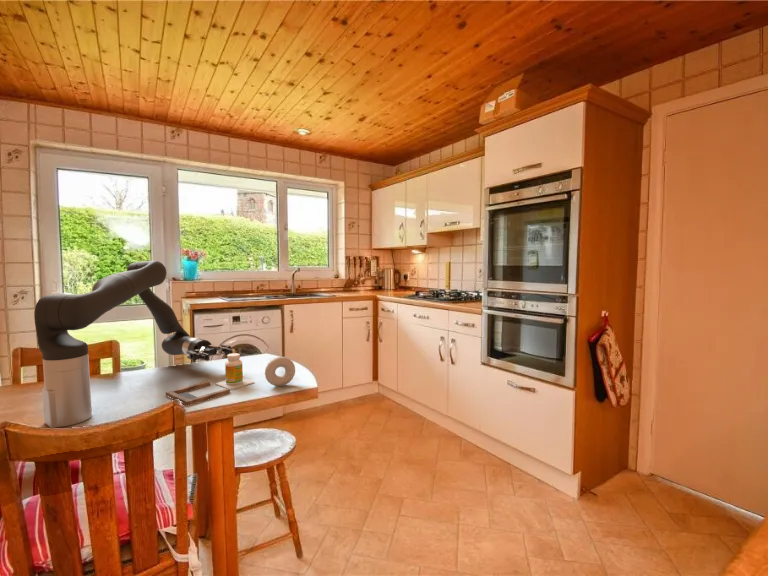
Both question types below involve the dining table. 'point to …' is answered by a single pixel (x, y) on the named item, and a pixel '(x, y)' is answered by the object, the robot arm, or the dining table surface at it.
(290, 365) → the donut
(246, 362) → the dining table surface
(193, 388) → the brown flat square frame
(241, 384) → the pad
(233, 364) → the supplement bottle
